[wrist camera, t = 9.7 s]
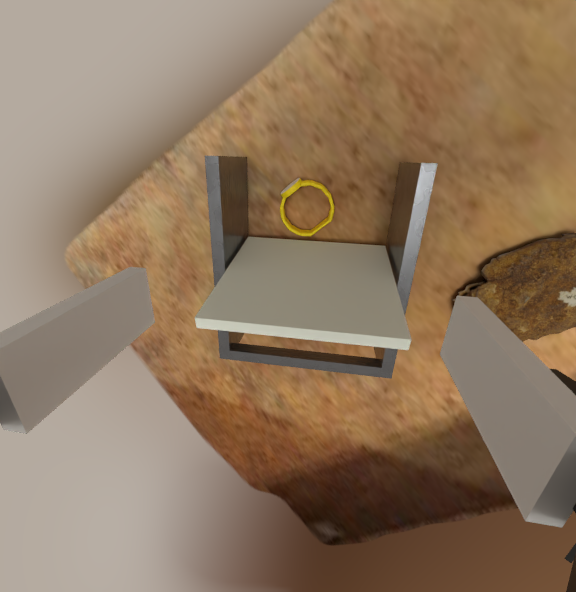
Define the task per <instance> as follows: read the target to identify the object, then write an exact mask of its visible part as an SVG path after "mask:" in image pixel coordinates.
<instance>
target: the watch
mask: <svg viewBox="0 0 576 592" xmlns="http://www.w3.org/2000/svg"><path fill="white" fill-rule="evenodd" d="M308 185H310V186H313V187H316V188H319V189H321V190H322V191H323V192H324V193H325V195H326V196H327V197H328V198H329V202H330V211H329V215H328V217H327V218H326V219H324V220H323V221H322V222H321V223H319V224H318V225H317V226H315V227H314V228H313V229H312V230H301V229H299V228H297V227H295V226H293V225H292V224H291V223H290V222H289V220H288V219H287V217H286V216H285V210H284V203H285V200H286V198H287V197H289V196H290V195H291V194H293V193H294V192H295V191H296V190H297V189H299V188H300V187H302V186H308ZM280 195H281V196H282V198H283V199H282V202H281V205H280V213H281V219H282V221H283V223H284V224H285V225H286V227H287V228H288V230H290V231H291V232H293V233H295V234H297V235H300V236H312V235H313V234H315V233H316V232H317V231H318V230H320V229H321V228H322V227H324V226H325V225H327V224H328V223H329V222H331V221H332V218H333V214H334V204H333V200H332V196H331V194H330V192H329V191H328V190H327V189H326V187H325V186H324V185H322V184H321V183H318V182H316V181H313V180H304V181H302V180H301V178H298V179H296V180H295V181H293V182H292V183H291V184H289V185H288V186H287V187H286V188H285V189H284V190H283V191H282V192H281V193H280Z"/></svg>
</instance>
